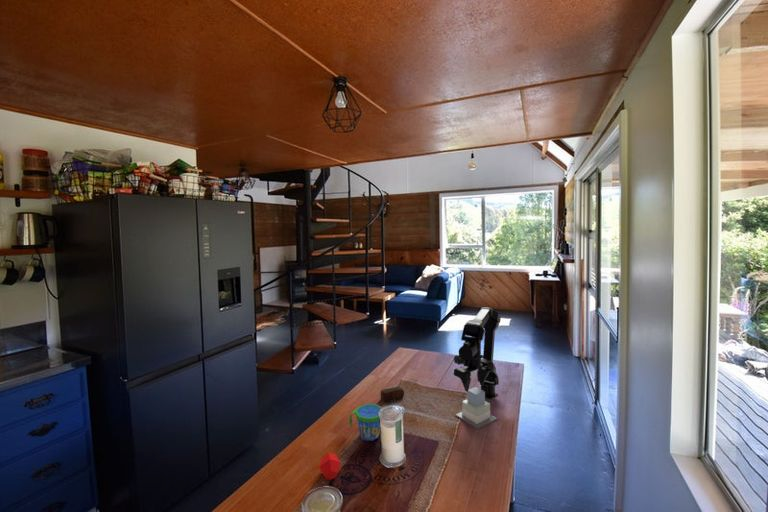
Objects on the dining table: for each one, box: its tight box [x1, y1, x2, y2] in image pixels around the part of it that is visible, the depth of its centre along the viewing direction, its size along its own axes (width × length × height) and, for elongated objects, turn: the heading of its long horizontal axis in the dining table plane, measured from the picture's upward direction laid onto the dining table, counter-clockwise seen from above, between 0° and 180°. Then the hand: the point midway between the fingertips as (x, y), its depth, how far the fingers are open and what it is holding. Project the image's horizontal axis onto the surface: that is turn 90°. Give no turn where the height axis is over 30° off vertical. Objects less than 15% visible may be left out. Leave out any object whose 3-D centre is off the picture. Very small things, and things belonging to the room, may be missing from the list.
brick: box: [380, 385, 405, 403], centre depth 155 cm, size 11×4×5 cm, turn 115°
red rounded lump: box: [318, 451, 341, 481], centre depth 107 cm, size 7×7×8 cm
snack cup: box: [349, 403, 382, 442], centre depth 126 cm, size 16×10×10 cm
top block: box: [466, 386, 486, 407], centre depth 137 cm, size 5×5×5 cm
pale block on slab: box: [454, 398, 498, 430], centre depth 137 cm, size 12×12×7 cm
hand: (474, 388), depth 139 cm, fingers open, 9 cm apart
